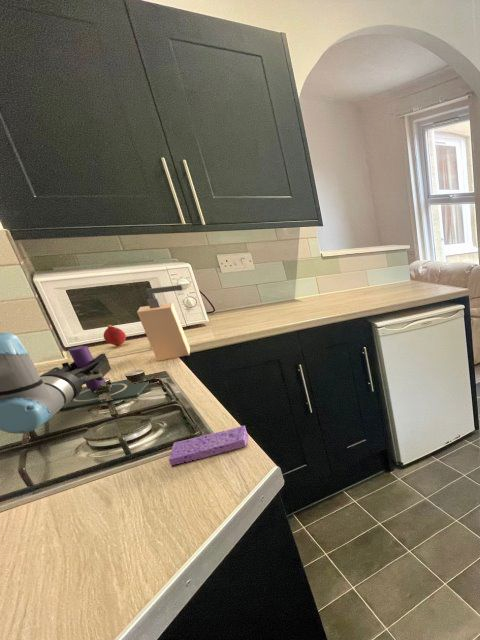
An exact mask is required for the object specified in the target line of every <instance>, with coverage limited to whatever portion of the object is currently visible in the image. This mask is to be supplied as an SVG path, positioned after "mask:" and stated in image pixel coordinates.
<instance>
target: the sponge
mask: <svg viewBox="0 0 480 640" xmlns="http://www.w3.org/2000/svg"><path fill="white" fill-rule="evenodd" d="M246 433H247V435H246ZM247 443H248V431H247V428H246V425H241V426H238V427H233V428H230V429H227V430H223V431H217V432H213V433H209V434H204V435H201V436H200V435H199V436H196V437H193V438H189V439H184V440H181V441H180V440H179V441H174V442H173V444H172V447H171V452H170V455H169V457H168V462H169V464H170V466H171V465H175V464H179V463H182V464H185V463H184V462H187V463H189V462H188V461H190V462H193V461H192V460H194V461H198V460H200V459H206V458H209V457H212V456H216V455H220V454H222V453H227V452H230V451H231V452H232V451H233V450H236V449H240V448H244V447H246V446H247ZM197 459H198V460H197ZM179 465H180V464H179ZM175 466H176V465H175Z"/></svg>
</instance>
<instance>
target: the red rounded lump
mask: <svg viewBox="0 0 480 640" xmlns="http://www.w3.org/2000/svg"><path fill="white" fill-rule="evenodd" d="M106 327H107V328H106V329H105V330H104V332H103V340H104V341H105V342H107V344H110V345H113V346H116V347H121V346H122V345H123V344H124V343H125V341H126V340H127V335H126V333H125V332H124V330H122V329H120V328H119V327H116V326H113V325H111V324H107V326H106ZM120 345H121V346H120Z"/></svg>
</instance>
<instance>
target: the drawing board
mask: <svg viewBox="0 0 480 640" xmlns="http://www.w3.org/2000/svg"><path fill="white" fill-rule="evenodd" d="M149 376H151V377H153V376H155V375H147V376H146V377H149ZM127 380H128V379H124V380H118V381H113V382H112V381H111V382H110V383H112V387H111V391H110V395H111V398H112V399H113V400H115V401H121V400H127V399H133V398H138V397H139V396H140V395H141V394H142V393H143V392H144V391H145V389H146V388H147V387H148V386H149V385H150V384H151V382H150V383H149V381H148V382H142V383H136V384H129V383H128V381H127ZM98 399H99V395H98V394H96V393H94V392H92V391H91V389H88V388H87V386H82V389H81V392H80V394H79V395H78V396H77V397H75V398H74V399H73V400H72V401H70V402H69V403H68V404H67V405H65V406H64V407H63V408H62V409H61V410H59V411H58V412H60V411H65V410H72V409H77V408H82V407H88V406H93V405H99V404H101V403H100V402H101V401H99V400H98ZM115 401H114V402H115Z"/></svg>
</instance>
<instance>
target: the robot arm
mask: <svg viewBox="0 0 480 640" xmlns="http://www.w3.org/2000/svg"><path fill="white" fill-rule="evenodd" d="M91 362H92V363H91V364H89V365H87V366H85V367H83V368H80V369H78V368H77V366H76V364H75V362H74V361H73V362H71V363H69V362H68V361H67V362H63V363H61V366H62V367H61V368H60V367H57V366H56V367H53V368H51V369H50V370H48V371H46V372H44V373H42V374H39V372H38V369H37V368H36V366H35V364H34V362H33V360H32V358H31V356H30V353H29V352H28V351H27V349H26V348H25V346H24V345H23V343H22V342H21V340H20V339H19V337H18V336H17V335H16V334H13V333H10V332H0V431H2V432H4V433H5V432H6V433H9V434H14V435H15V434H16V435H17V434H18V435H19V434H27V433H31V432H33V431H35V430H37V429H38V428H40V427H41V426H43V425H44V424H47V423H48V422H49V421H50V420H51V419H52V418H53V417H54V416H55V415H56V414H57V413H59V412H60V411H62V410H61V409H62V408H63V407H64V406H65V405H67V404H68V403H69V402H70V401H72V400H73V399H74V398H75V397H77V396H78V395H79V394H80V392H81V389H82V387H83V386H84V385H86V383H88V382H89V380H91V379H94V380H98V381H101V380H104V379H105V378H104V377H105V376H106V375H108V373H109V372H110V371H111V370H112V367H111V364H110V361H109V360H108V358H107V355H106V353H105V352H104V353H100V354H99V355H97V356H96V357H95V358H93V360H92V361H91ZM59 410H60V411H59Z"/></svg>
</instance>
